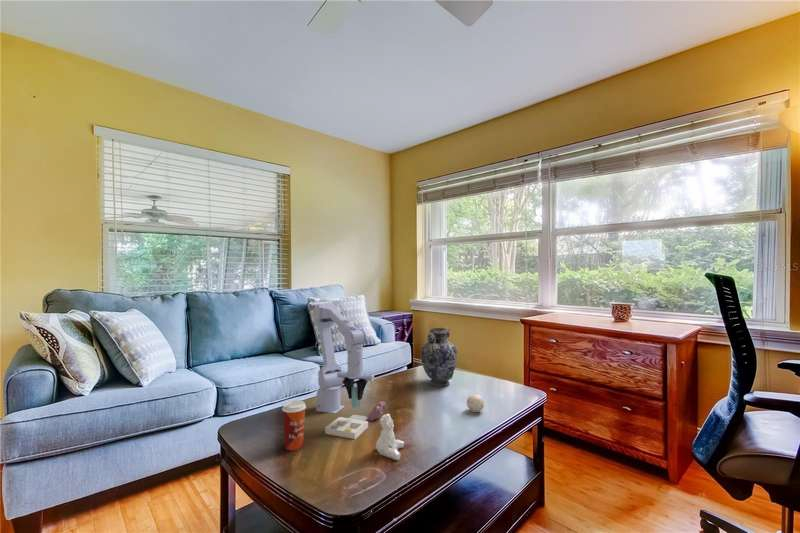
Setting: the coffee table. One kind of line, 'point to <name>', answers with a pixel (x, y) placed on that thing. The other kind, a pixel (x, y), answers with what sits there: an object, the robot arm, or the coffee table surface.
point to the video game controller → (377, 411)
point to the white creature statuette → (388, 439)
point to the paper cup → (294, 424)
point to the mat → (358, 417)
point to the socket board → (346, 427)
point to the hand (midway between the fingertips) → (355, 398)
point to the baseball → (475, 403)
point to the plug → (354, 397)
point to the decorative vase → (439, 357)
